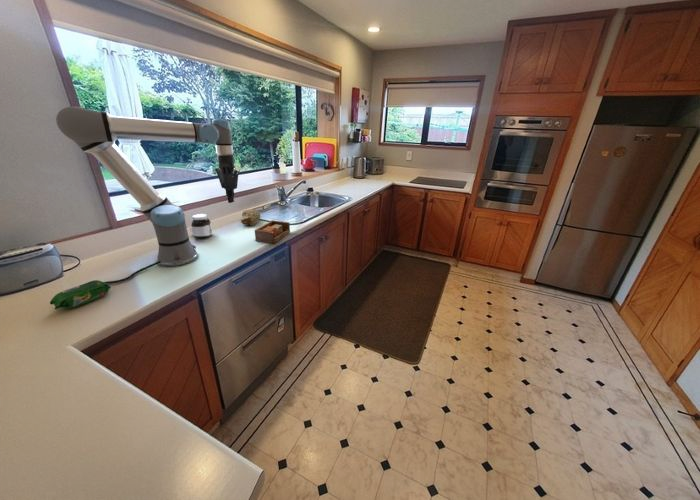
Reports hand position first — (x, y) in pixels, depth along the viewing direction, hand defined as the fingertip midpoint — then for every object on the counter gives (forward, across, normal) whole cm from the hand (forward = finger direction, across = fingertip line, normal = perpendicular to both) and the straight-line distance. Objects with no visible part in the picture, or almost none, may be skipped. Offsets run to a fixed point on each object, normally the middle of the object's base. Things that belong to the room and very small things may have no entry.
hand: (231, 202), depth 145 cm
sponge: (+19, +8, -26) cm, 33 cm away
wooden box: (+19, -18, -8) cm, 28 cm away
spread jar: (+20, +18, +5) cm, 27 cm away
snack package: (+21, +9, +68) cm, 71 cm away
